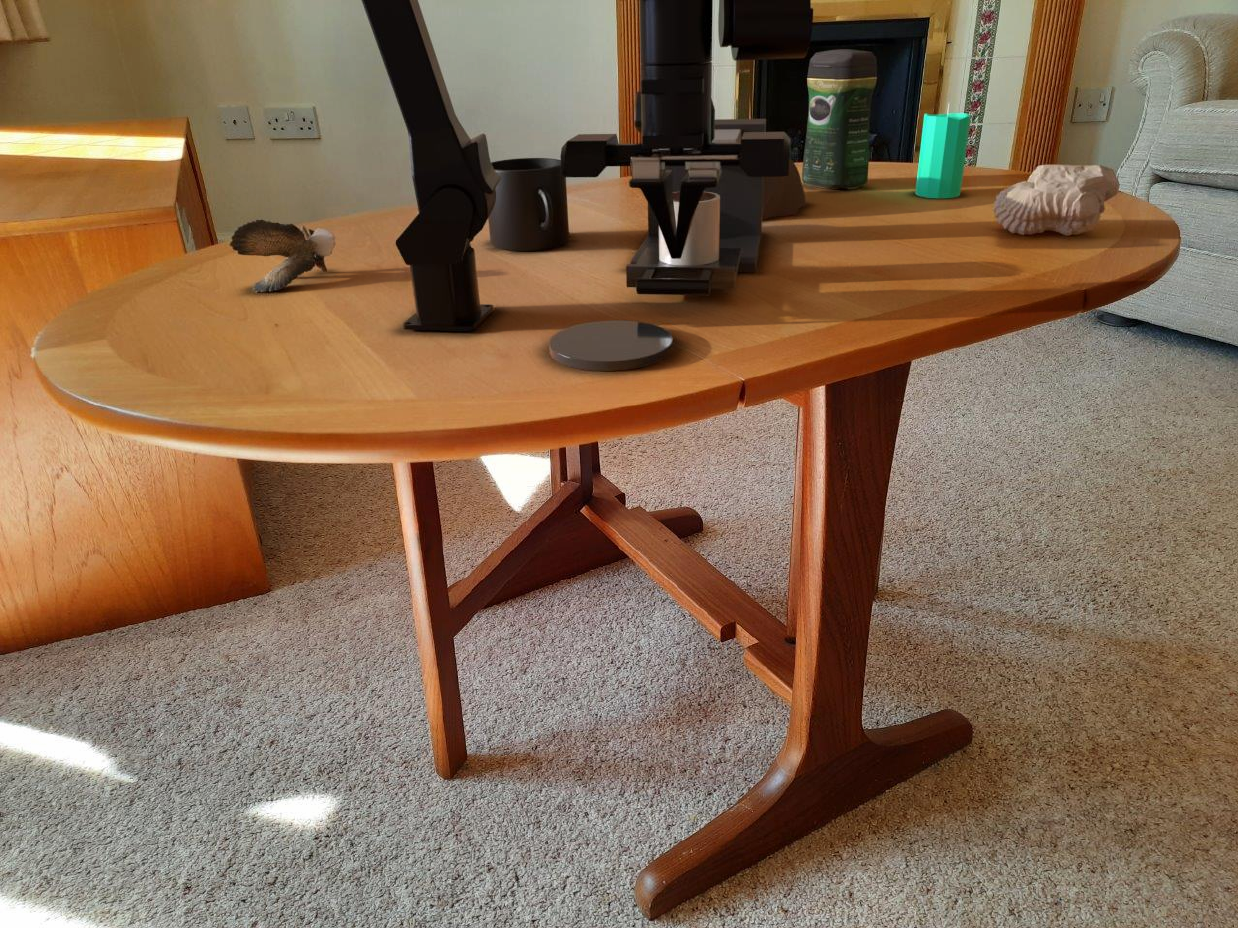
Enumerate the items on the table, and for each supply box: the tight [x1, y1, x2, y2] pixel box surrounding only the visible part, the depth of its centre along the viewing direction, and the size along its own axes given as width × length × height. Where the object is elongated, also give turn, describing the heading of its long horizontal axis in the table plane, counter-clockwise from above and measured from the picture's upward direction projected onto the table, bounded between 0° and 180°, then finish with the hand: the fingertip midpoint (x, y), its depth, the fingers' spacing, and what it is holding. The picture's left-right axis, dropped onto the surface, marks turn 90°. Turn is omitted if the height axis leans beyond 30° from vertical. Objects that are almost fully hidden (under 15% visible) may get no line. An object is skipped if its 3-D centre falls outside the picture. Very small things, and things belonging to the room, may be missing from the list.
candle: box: [914, 102, 972, 199], centre depth 122 cm, size 6×6×12 cm
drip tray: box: [625, 247, 742, 296], centre depth 85 cm, size 18×10×2 cm, turn 170°
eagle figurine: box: [228, 219, 336, 293], centre depth 93 cm, size 8×7×9 cm
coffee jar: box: [801, 48, 878, 190], centre depth 129 cm, size 10×8×19 cm
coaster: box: [548, 320, 674, 372], centre depth 72 cm, size 10×10×1 cm
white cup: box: [659, 192, 720, 265], centre depth 87 cm, size 6×6×6 cm
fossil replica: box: [992, 163, 1120, 237], centre depth 100 cm, size 12×8×10 cm
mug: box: [487, 157, 570, 252], centre depth 103 cm, size 9×12×9 cm
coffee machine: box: [629, 118, 767, 274], centre depth 97 cm, size 18×13×13 cm
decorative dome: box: [762, 157, 807, 221], centre depth 119 cm, size 19×20×10 cm
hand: (676, 257), depth 78 cm, fingers closed
